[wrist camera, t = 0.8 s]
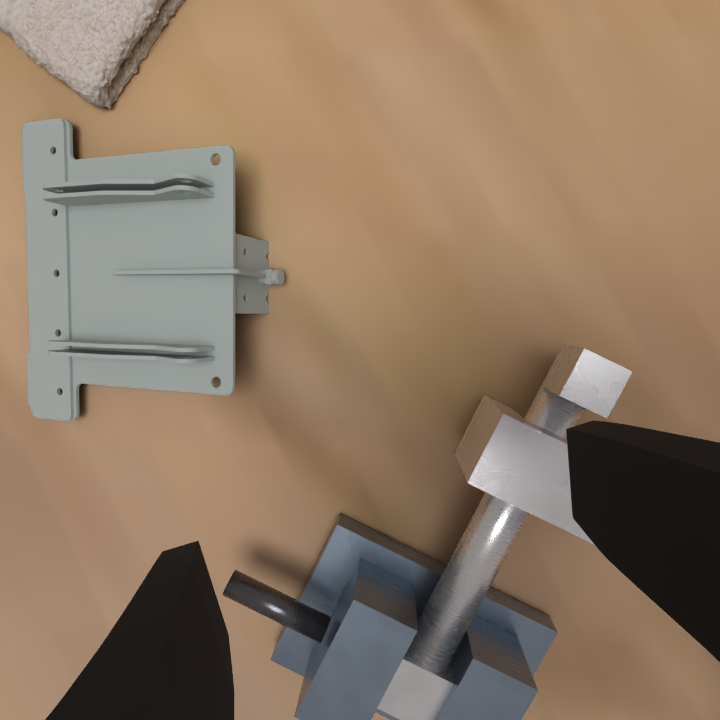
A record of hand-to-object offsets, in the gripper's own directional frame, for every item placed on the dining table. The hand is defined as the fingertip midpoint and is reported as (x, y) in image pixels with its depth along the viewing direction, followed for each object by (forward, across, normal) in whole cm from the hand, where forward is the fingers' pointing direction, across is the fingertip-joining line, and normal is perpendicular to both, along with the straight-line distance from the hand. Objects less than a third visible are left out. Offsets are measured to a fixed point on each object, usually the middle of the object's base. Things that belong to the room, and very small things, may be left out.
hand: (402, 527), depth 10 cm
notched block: (+12, -9, +7) cm, 16 cm away
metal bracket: (+22, +6, -4) cm, 23 cm away
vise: (+15, -5, +10) cm, 19 cm away
